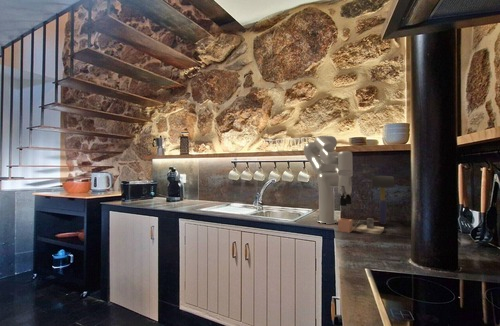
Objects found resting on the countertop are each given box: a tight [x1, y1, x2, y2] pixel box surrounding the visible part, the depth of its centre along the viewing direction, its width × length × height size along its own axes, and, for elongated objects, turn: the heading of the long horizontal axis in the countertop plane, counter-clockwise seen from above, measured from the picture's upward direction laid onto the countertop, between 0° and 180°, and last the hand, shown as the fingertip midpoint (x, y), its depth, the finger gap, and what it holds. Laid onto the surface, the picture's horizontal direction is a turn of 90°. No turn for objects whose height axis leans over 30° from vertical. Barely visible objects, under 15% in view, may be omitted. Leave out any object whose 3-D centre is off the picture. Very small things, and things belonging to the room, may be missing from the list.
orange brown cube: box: [337, 218, 353, 234], centre depth 143 cm, size 6×6×6 cm
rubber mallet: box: [371, 175, 396, 225], centre depth 161 cm, size 12×8×30 cm, turn 70°
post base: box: [355, 217, 385, 235], centre depth 144 cm, size 12×12×6 cm
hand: (345, 204), depth 143 cm, fingers open, 9 cm apart
